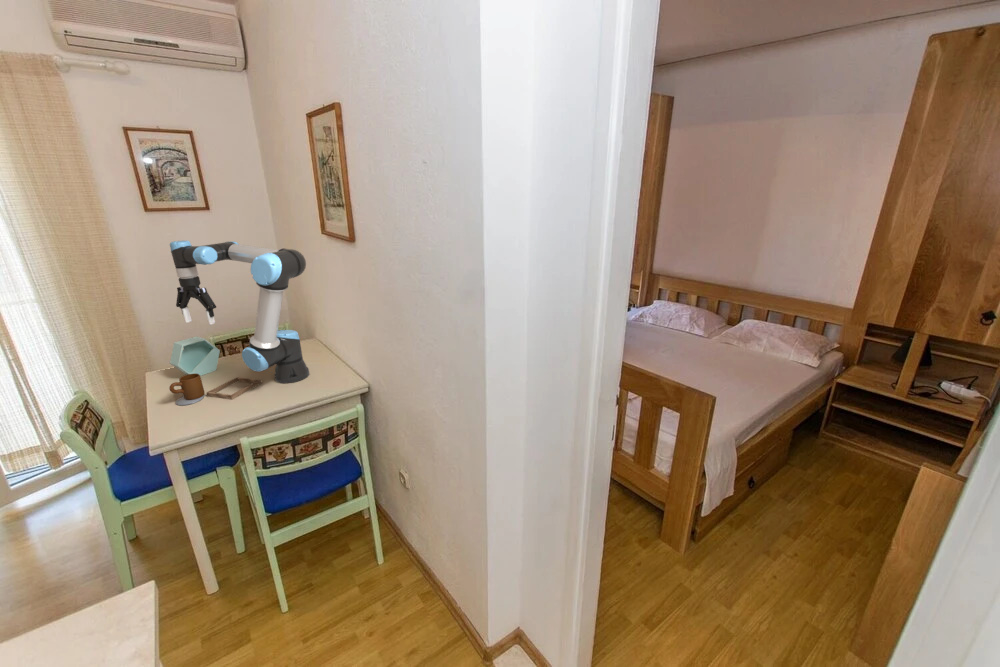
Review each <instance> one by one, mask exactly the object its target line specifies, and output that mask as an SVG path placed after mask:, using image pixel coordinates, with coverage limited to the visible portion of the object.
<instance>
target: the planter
mask: <svg viewBox="0 0 1000 667" xmlns="http://www.w3.org/2000/svg"><path fill="white" fill-rule="evenodd" d="M171 351H172V352H171V356H170V361H169V364H170V365H171V366H173V367H174V368H176V369H177V370H179V371H180V372H182V374H185V375H188V374H199V375H200V377H201V376H203V375H207V374H210V373H213V372H215V371H217V368H218V363H219V358H220V353H221V350H220V349H219V348H217V347H216V346H215V345H214V344H212V343H211V342H210V341H208V340H207V339H206V338H204V337H200V336H197V335H196V336H193V337H192V336H191V337H190V338H189V337H188V338H186V339H182V340H179V341H174V342H173V346H172V350H171Z"/></svg>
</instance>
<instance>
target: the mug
mask: <svg viewBox="0 0 1000 667" xmlns="http://www.w3.org/2000/svg"><path fill="white" fill-rule="evenodd" d="M178 380H179V381H174V382H172V383H171V384H170V385H169V388H168V389H169V391H170V392H171V393H172V394H174V395H175V394H176V395H177V394H182V397H183V396H184V398H185V399H186V400H194V399H198V398H200V397H202V396H205V393H206V392H205V388H204V385H203V380H202V377H201V376H200V375H199V374H188V375H186V374H185V375H182V376H181V377H179V379H178ZM175 387H180V388H177V389H175Z"/></svg>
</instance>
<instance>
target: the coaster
mask: <svg viewBox="0 0 1000 667" xmlns="http://www.w3.org/2000/svg"><path fill="white" fill-rule="evenodd" d="M204 396H205V395H203V396H202V397H200V398H198V399H194V400H186V399H185V398H184V396H183V395H182V396H181V397H179V398H178V399H176V401H175V405H177V406H181V407H183V406H190V405H193V404H196V403H199V402H201V401H202V400H203V399H204Z"/></svg>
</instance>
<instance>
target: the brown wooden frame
mask: <svg viewBox="0 0 1000 667" xmlns="http://www.w3.org/2000/svg"><path fill="white" fill-rule="evenodd" d="M238 382H239V383H240V382H241V383H249V385H247V386H244V387H243V388H241V389H240V390H238V391H236V392H234V393H232V394H229V393H228V394H227V393H222V392H221V393H220V391H222V390H224V389H226V388H229V387H231V386H232V385H233V384H236V383H238ZM261 384H262V379H257V378H250V377H248V378H247V377H240V376H237V377H235V378H232V379H231V380H229V381H226V382H225V383H222V384H221V385H218V386H216V387H214V388H213V389H210V390H208V391H206V392H205V393H206V397H208V398H209V397H211V398H218V399H224V400H225V399H226V400H235V399H236V398H238V397H239V396H241V395H243V394H245V393H247V392H248V391H250V390H252V389H254V388H255V387H258V386H259V385H261Z"/></svg>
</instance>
